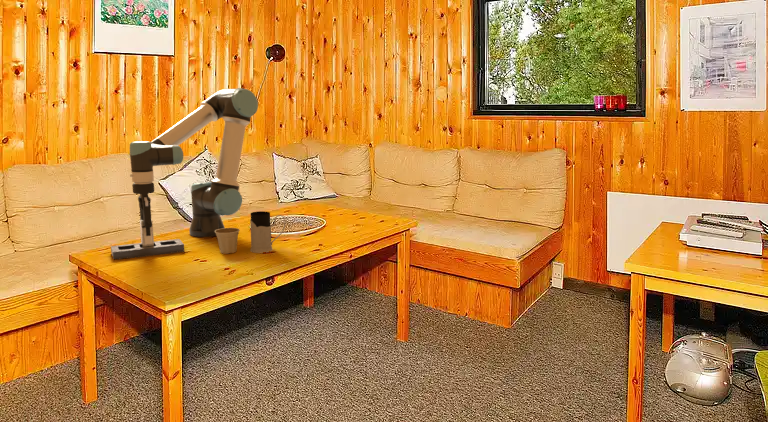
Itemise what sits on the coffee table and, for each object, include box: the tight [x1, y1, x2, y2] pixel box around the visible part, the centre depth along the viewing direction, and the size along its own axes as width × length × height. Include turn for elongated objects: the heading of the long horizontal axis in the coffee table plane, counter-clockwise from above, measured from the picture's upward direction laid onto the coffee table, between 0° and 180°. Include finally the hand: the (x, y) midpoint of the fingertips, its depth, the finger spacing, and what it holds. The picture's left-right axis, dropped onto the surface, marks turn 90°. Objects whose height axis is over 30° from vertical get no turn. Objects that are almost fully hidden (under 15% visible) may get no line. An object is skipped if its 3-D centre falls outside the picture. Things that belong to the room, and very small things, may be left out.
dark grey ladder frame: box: [110, 238, 185, 260], centre depth 212 cm, size 25×10×3 cm, turn 120°
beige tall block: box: [139, 218, 155, 248], centre depth 211 cm, size 4×4×13 cm
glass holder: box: [250, 210, 287, 254], centre depth 218 cm, size 9×14×15 cm, turn 111°
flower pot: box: [215, 227, 240, 255], centre depth 214 cm, size 9×9×9 cm
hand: (147, 241), depth 212 cm, fingers open, 6 cm apart
